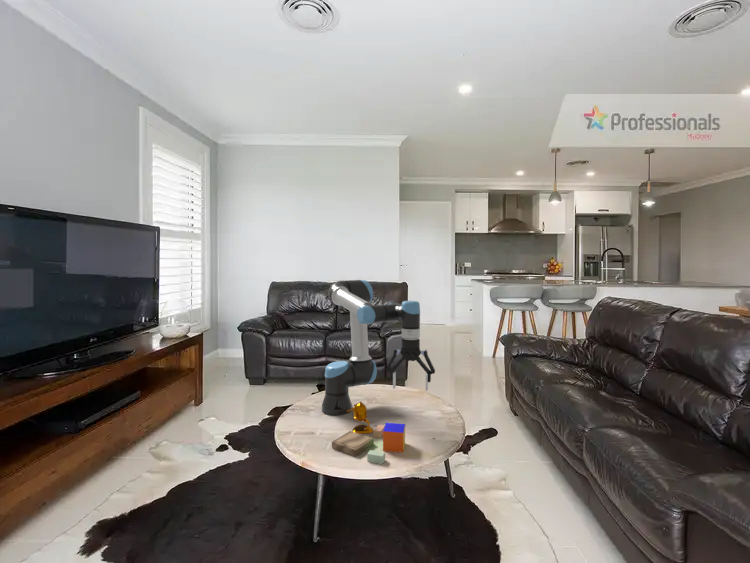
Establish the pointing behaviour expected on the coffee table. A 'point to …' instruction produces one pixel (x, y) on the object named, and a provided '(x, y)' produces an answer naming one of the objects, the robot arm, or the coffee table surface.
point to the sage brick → (375, 456)
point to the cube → (394, 437)
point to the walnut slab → (352, 443)
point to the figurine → (361, 419)
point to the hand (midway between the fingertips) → (410, 388)
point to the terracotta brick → (379, 431)
